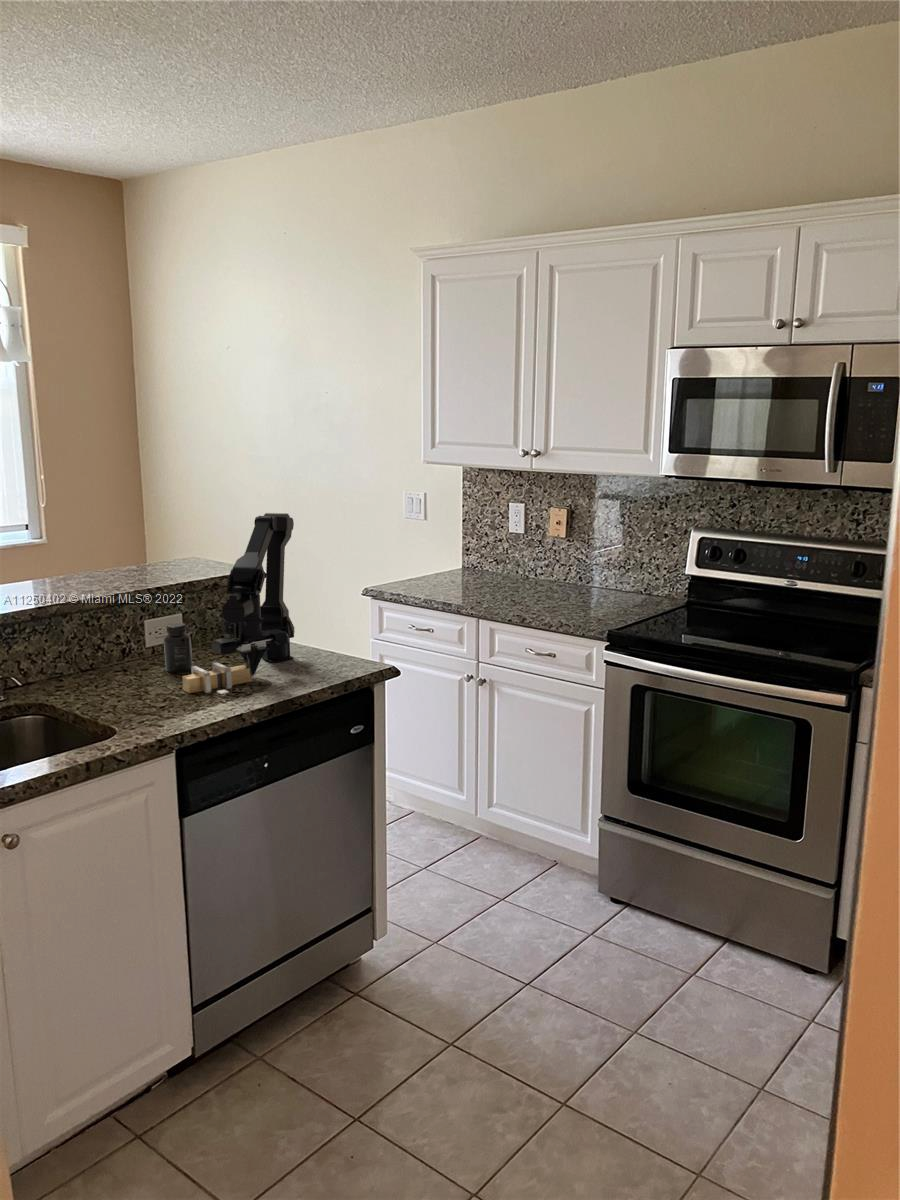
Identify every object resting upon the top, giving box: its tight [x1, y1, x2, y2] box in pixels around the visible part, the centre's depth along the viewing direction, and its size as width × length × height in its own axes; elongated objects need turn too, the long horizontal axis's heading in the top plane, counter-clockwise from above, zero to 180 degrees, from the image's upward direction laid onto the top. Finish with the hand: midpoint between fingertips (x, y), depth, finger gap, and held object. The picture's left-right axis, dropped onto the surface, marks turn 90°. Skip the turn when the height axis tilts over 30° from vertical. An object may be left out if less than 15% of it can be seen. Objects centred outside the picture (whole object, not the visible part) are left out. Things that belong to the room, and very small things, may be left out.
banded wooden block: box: [181, 664, 251, 694], centre depth 236 cm, size 16×4×4 cm, turn 128°
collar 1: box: [190, 665, 212, 694], centre depth 233 cm, size 1×8×5 cm, turn 39°
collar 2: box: [211, 661, 233, 690], centre depth 237 cm, size 1×8×5 cm, turn 39°
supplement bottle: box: [163, 622, 194, 673], centre depth 250 cm, size 7×7×12 cm
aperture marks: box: [216, 688, 229, 695], centre depth 235 cm, size 2×14×1 cm, turn 39°
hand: (252, 674), depth 242 cm, fingers closed
